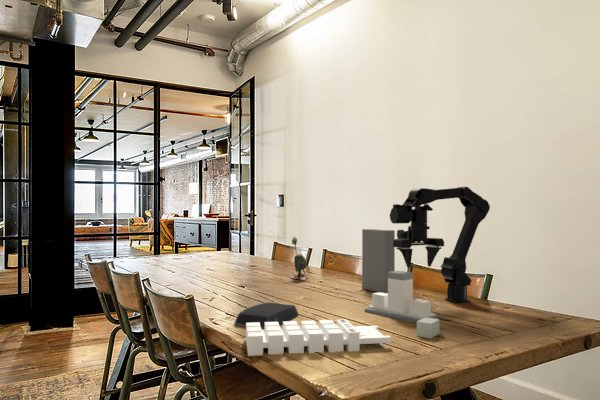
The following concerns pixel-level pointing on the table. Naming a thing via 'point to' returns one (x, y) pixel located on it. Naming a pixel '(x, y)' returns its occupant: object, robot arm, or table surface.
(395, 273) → the block
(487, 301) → the table surface
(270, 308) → the dark grey faceted block
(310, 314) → the table surface
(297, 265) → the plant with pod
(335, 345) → the organizer
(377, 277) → the tall upright grey panel
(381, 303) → the board
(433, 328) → the box
